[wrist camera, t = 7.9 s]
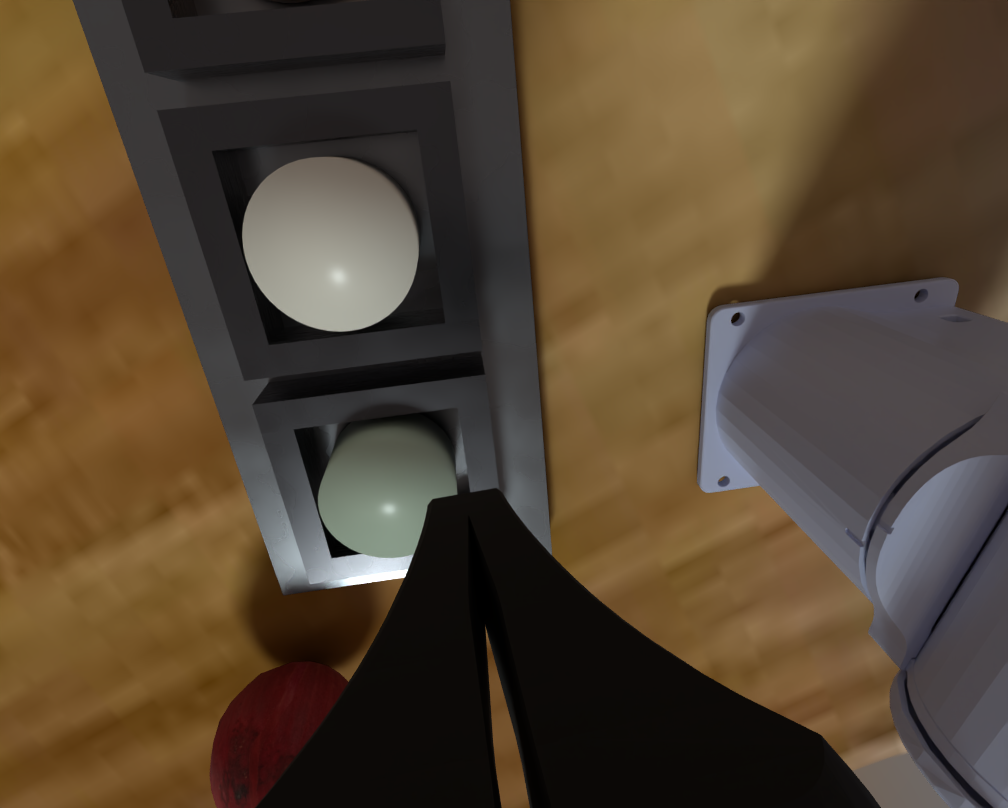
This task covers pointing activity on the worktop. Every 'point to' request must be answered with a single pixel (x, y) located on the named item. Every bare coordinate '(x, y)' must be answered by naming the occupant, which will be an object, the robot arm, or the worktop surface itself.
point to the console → (420, 173)
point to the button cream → (332, 242)
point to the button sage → (385, 483)
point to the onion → (269, 729)
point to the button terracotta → (290, 1)
